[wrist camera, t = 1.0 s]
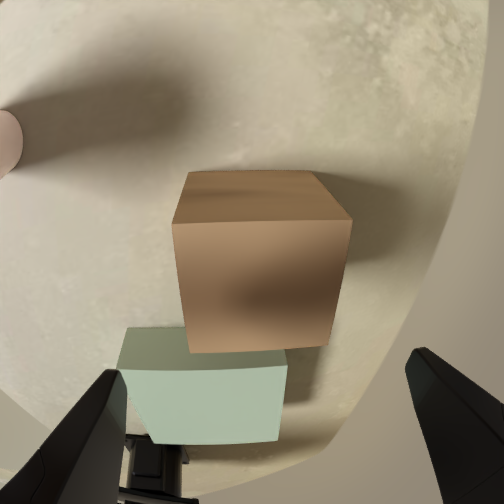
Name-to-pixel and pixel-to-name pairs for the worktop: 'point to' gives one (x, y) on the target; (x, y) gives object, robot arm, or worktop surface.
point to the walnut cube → (258, 259)
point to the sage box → (202, 389)
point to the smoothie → (9, 142)
